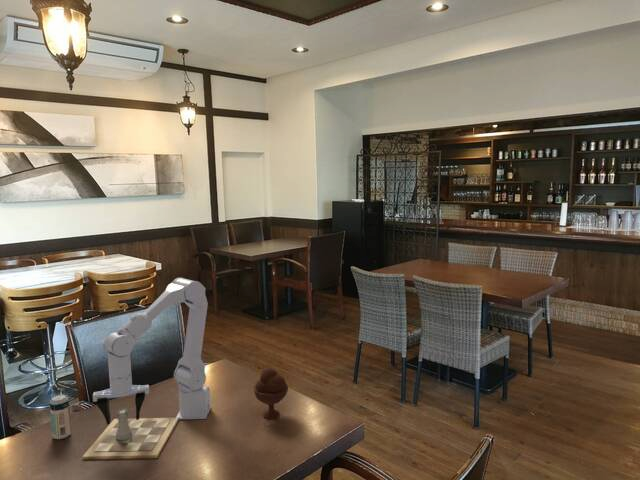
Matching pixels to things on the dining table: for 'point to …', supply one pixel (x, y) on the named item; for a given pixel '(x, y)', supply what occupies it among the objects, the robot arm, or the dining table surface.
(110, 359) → the robot arm
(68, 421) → the white labeled bottle
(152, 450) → the chessboard
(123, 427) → the rook chess piece
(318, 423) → the dining table surface
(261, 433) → the dining table surface
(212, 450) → the dining table surface
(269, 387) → the ice cream bowl
